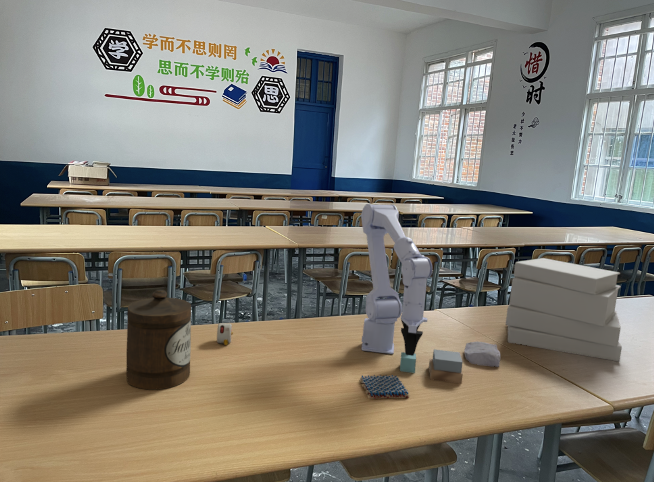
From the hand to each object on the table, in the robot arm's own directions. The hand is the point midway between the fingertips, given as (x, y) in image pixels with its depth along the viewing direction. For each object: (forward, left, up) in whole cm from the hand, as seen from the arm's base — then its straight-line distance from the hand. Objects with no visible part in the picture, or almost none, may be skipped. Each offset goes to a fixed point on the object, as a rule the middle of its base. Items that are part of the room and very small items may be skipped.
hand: (409, 349), depth 132 cm
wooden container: (-61, -23, -6) cm, 66 cm away
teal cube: (0, 0, -6) cm, 6 cm away
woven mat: (-6, -14, -6) cm, 16 cm away
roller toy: (-54, +3, -6) cm, 54 cm away
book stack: (+51, +39, -6) cm, 65 cm away
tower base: (+10, -1, -6) cm, 12 cm away
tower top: (+10, -1, -3) cm, 11 cm away
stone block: (+22, +15, -6) cm, 27 cm away
